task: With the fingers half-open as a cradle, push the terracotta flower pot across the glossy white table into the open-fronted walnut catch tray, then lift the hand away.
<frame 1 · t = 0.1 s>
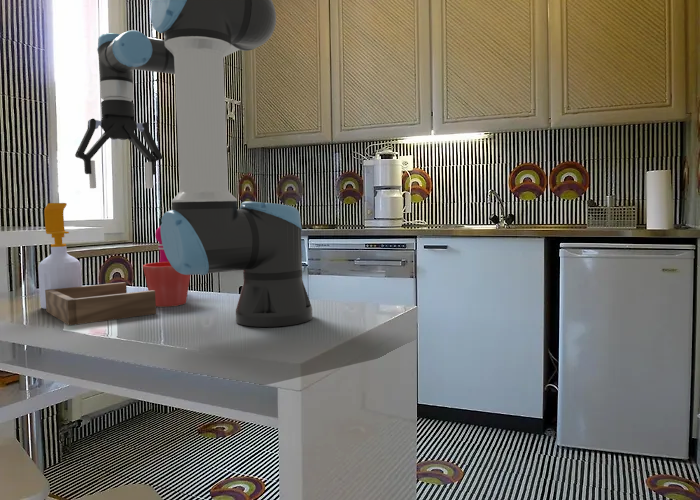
hand: (122, 188, 146), 28 cm above the table, fingers open, 13 cm apart
flower pot: (169, 305, 140), on the table
catch tray: (103, 312, 131), on the table
soap bottle: (62, 307, 141), on the table
pepper mill: (170, 295, 156), on the table
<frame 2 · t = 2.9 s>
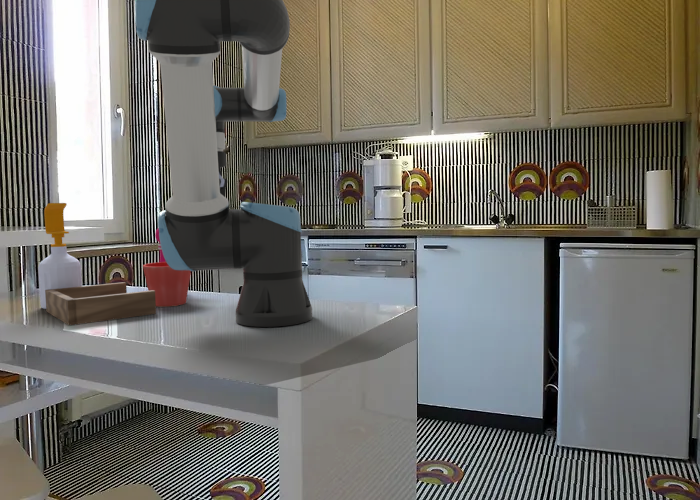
hand: (214, 246, 147), 13 cm above the table, fingers closed
nothing on the table moved.
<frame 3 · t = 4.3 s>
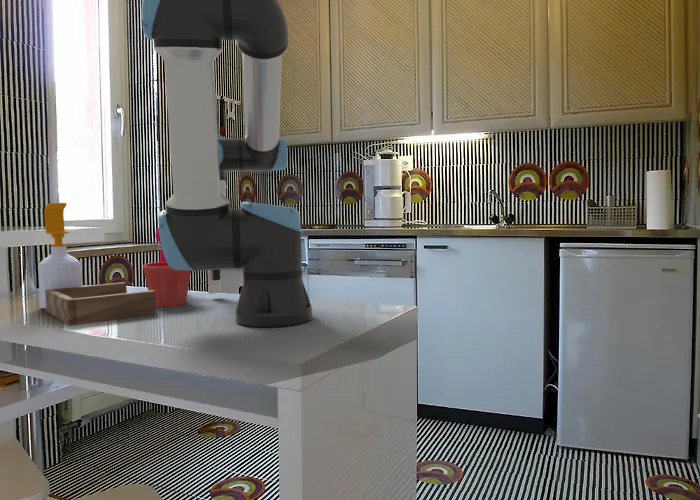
hand: (214, 292, 147), 1 cm above the table, fingers closed
nothing on the table moved.
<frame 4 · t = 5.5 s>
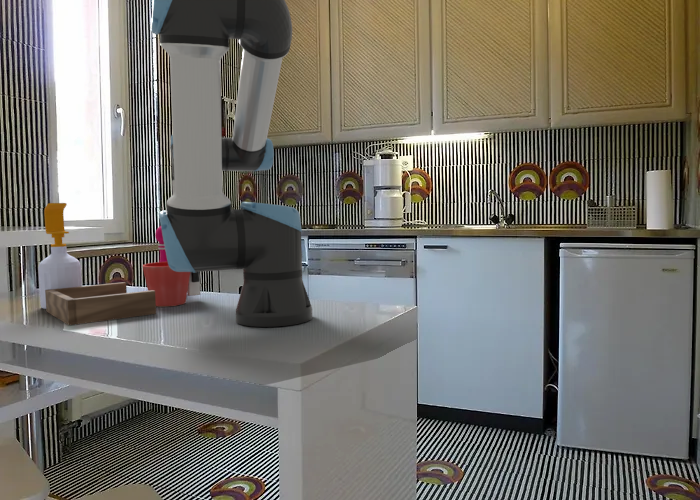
hand: (193, 295, 144), 1 cm above the table, fingers closed
flower pot: (169, 304, 140), on the table, touching gripper
everything else where it was.
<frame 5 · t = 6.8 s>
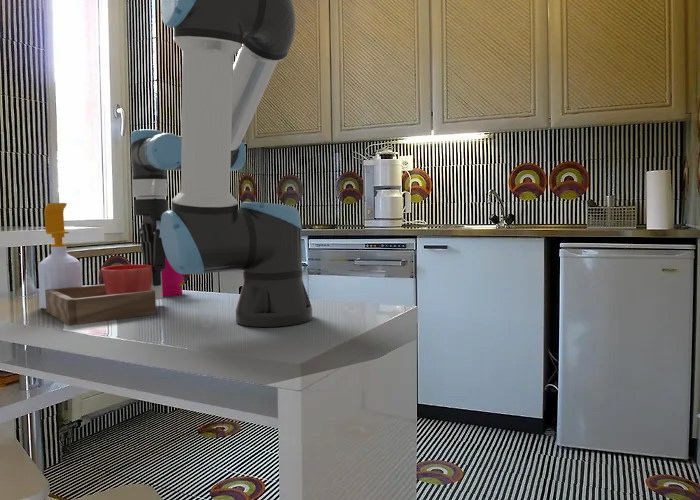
hand: (155, 299, 139), 2 cm above the table, fingers closed
flower pot: (129, 309, 135), resting in catch tray, touching gripper
everything else where it was.
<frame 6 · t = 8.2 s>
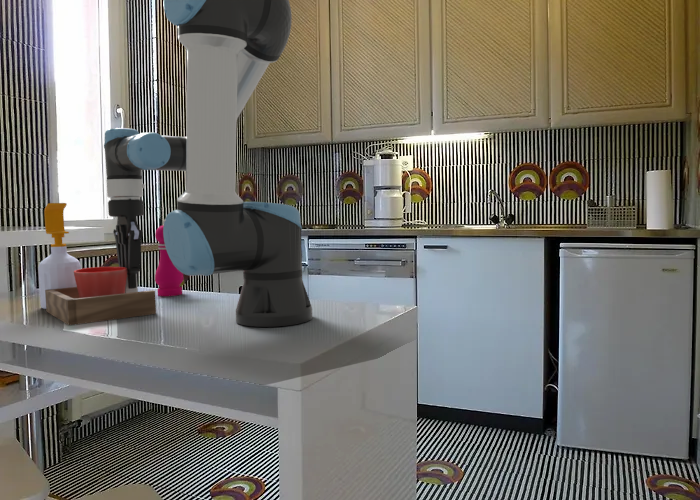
hand: (131, 302, 135), 1 cm above the table, fingers closed
flower pot: (103, 313, 131), resting in catch tray, touching gripper
everything else where it was.
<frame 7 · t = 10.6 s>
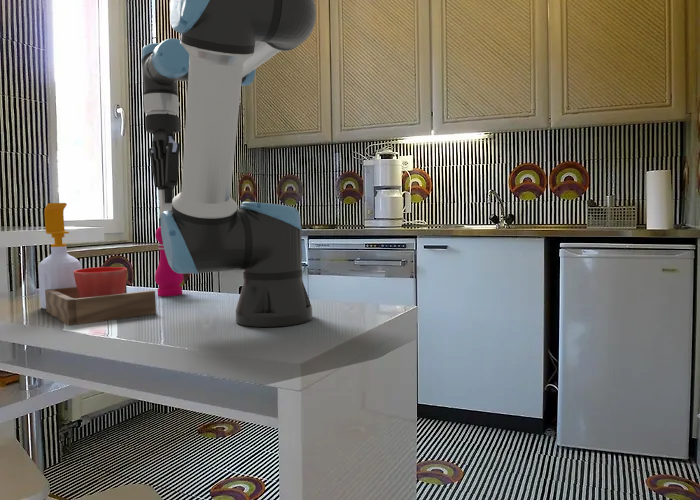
hand: (167, 217, 137), 21 cm above the table, fingers closed
flower pot: (103, 313, 131), resting in catch tray
everything else where it was.
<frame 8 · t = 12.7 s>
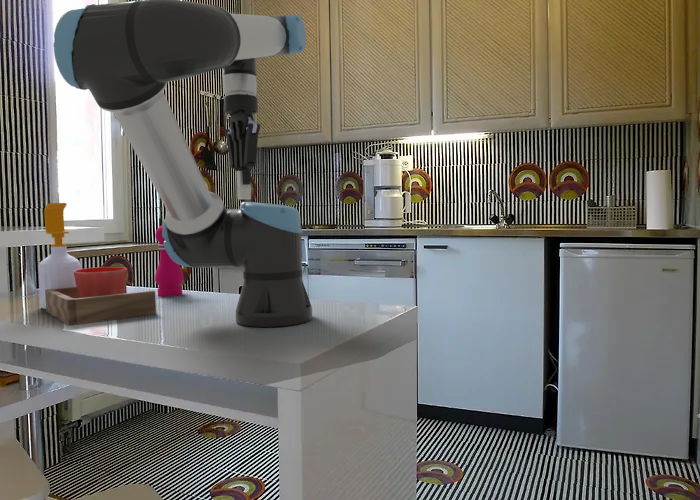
hand: (244, 199, 137), 24 cm above the table, fingers closed
nothing on the table moved.
at the end: flower pot inside the target area on the catch tray (0.9 cm from its centre), point 0.0 cm above the catch tray's base; flower pot tilted 0° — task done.
